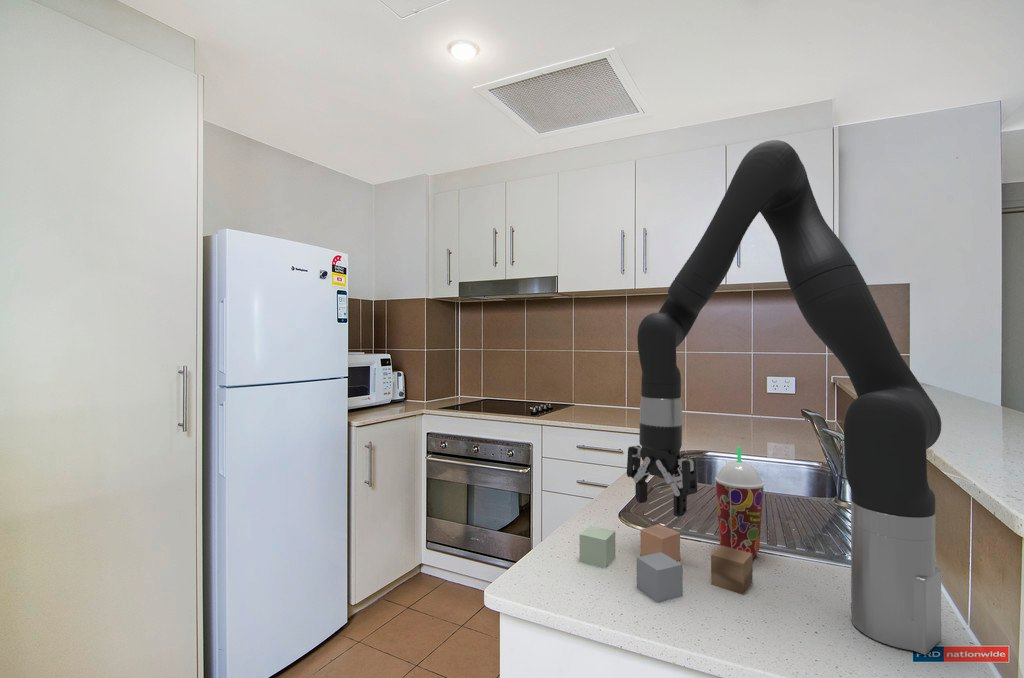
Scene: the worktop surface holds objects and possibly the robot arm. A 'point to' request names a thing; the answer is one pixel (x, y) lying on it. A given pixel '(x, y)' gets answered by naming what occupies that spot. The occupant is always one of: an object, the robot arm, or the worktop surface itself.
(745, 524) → the smoothie
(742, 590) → the walnut block
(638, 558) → the grey block
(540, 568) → the worktop surface
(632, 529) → the worktop surface
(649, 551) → the terracotta block
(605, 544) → the sage block
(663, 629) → the worktop surface
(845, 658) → the worktop surface
